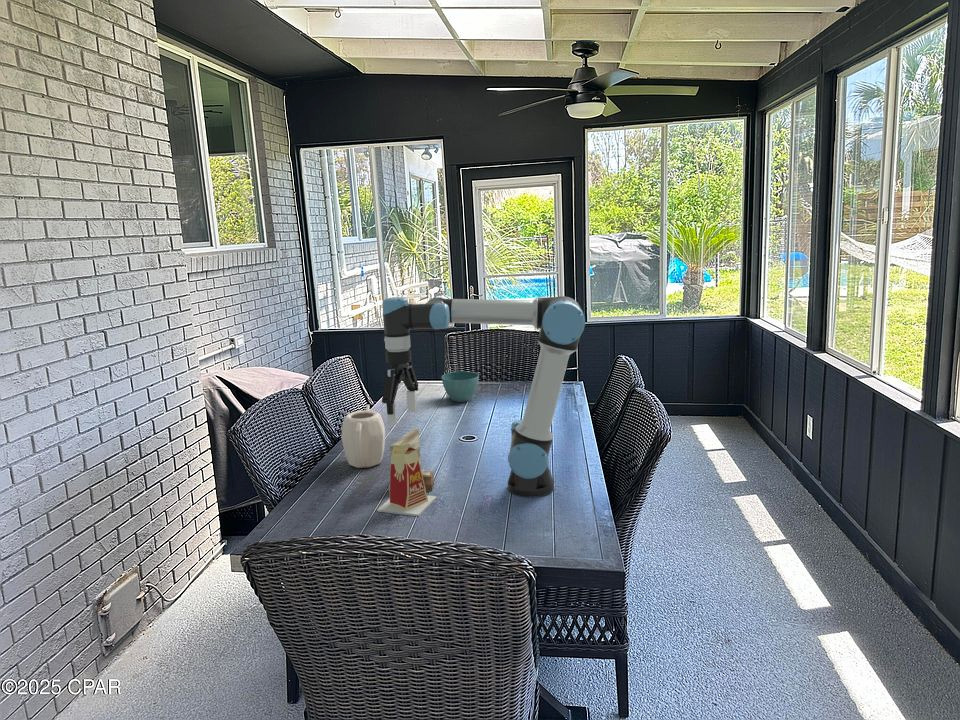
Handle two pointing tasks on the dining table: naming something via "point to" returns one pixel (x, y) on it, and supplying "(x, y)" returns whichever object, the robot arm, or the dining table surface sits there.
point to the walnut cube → (428, 480)
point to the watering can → (363, 438)
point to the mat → (413, 511)
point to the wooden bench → (406, 439)
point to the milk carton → (406, 478)
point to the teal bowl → (460, 385)
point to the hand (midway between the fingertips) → (402, 417)
